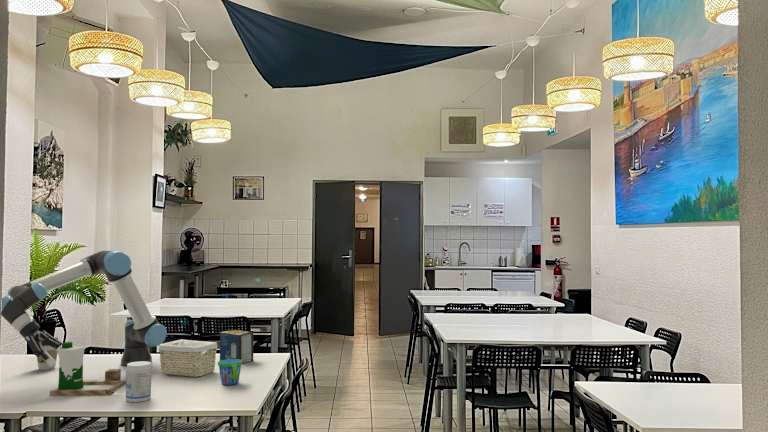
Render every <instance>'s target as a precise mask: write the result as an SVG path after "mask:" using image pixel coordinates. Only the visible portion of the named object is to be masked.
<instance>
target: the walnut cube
mask: <svg viewBox="0 0 768 432" xmlns="http://www.w3.org/2000/svg"><path fill="white" fill-rule="evenodd" d="M121 373H122V370H121V368H108V369H107V370H105V371H104V380H105V381H120V380H122V379H121V378H122V377H121Z"/></svg>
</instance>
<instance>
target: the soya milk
mask: <svg viewBox="0 0 768 432" xmlns="http://www.w3.org/2000/svg"><path fill="white" fill-rule="evenodd" d="M61 346H62V348H59V349H57V350H58V353H57V356H58V385H57V390H81V389H82V388H84V385H83V380H84V374H83V373H84V356H85V355H84V354H85V349H86V346H81V345H76V346H75V345H73V342H72V341H66V342H62V345H61Z"/></svg>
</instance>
